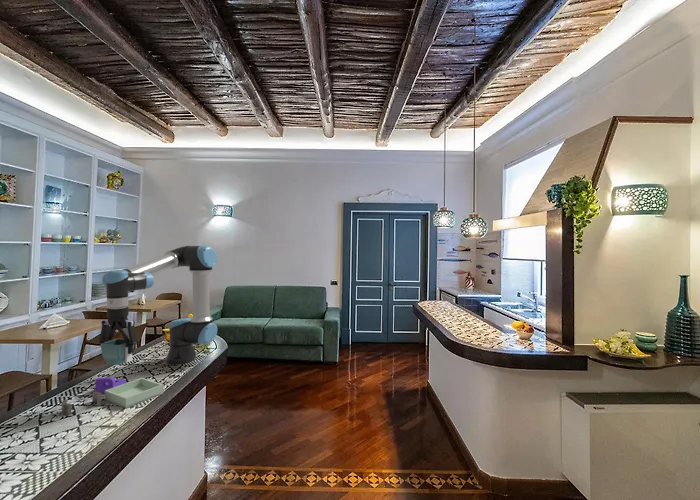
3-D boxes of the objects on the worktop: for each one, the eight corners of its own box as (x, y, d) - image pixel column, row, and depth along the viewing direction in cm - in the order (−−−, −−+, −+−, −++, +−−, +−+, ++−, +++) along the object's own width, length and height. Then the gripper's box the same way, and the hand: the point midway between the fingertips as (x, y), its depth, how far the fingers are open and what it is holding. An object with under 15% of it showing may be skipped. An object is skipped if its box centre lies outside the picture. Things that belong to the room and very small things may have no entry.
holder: (98, 399, 143) (97, 390, 143) (103, 404, 139) (103, 395, 139) (59, 411, 133) (59, 401, 133) (64, 417, 129) (64, 406, 129)
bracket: (112, 394, 150) (112, 378, 149) (95, 395, 148) (95, 379, 148) (125, 382, 161) (125, 368, 161) (109, 383, 160) (109, 369, 160)
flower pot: (119, 367, 138) (119, 345, 138) (99, 365, 139) (99, 343, 139) (135, 360, 146) (135, 339, 146) (116, 359, 147) (116, 338, 147)
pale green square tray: (142, 386, 157) (142, 377, 157) (163, 393, 149) (163, 384, 149) (104, 399, 143) (104, 390, 143) (126, 408, 136) (126, 398, 136)
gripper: (87, 308, 140) (88, 362, 141) (133, 310, 137) (134, 365, 138) (103, 304, 148) (104, 356, 148) (147, 306, 144) (148, 359, 145)
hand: (118, 360), depth 143 cm, fingers closed on flower pot, 9 cm apart
